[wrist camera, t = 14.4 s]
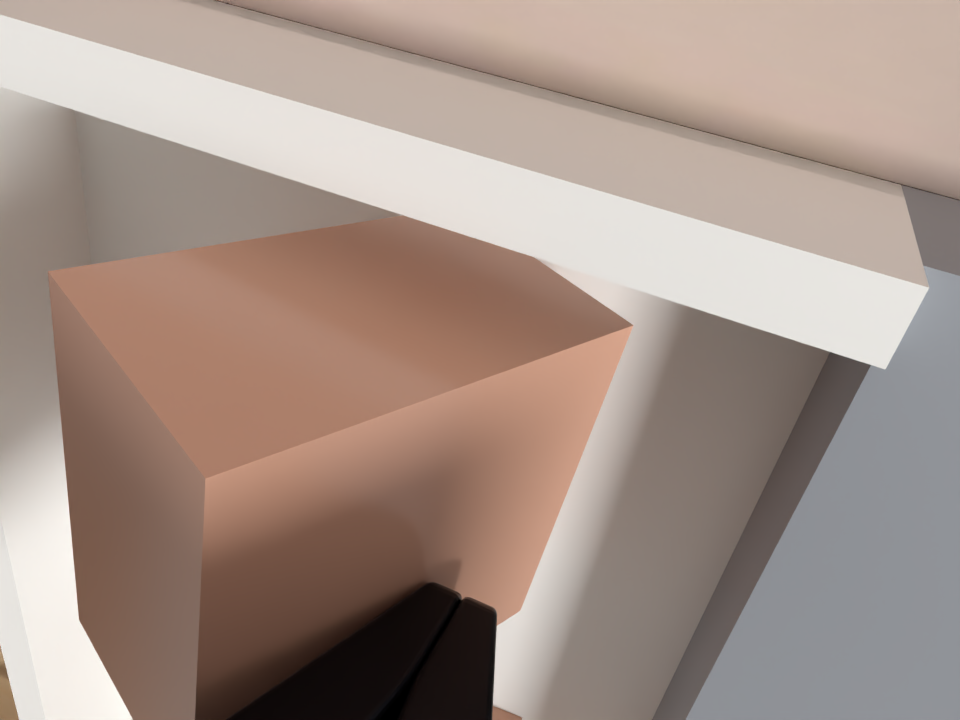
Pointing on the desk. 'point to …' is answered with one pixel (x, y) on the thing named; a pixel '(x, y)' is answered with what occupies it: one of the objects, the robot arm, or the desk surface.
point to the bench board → (851, 538)
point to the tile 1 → (310, 443)
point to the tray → (466, 210)
